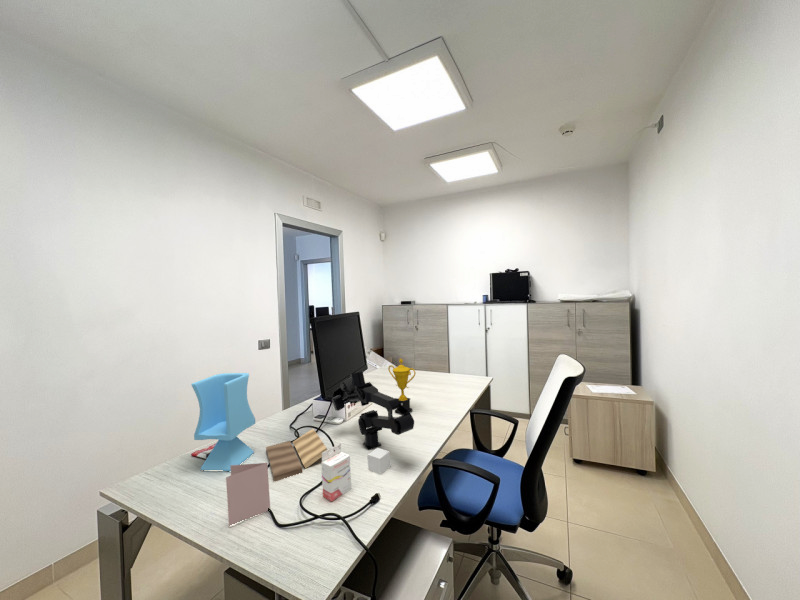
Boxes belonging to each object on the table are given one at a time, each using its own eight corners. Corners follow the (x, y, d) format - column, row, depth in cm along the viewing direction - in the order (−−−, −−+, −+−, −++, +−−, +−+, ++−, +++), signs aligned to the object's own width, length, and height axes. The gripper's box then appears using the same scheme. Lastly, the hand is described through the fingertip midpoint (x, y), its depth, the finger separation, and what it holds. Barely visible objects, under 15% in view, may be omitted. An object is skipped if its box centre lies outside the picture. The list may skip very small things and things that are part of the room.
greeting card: (271, 508, 97) (268, 461, 97) (261, 525, 90) (258, 475, 90) (234, 510, 97) (231, 463, 97) (222, 528, 89) (218, 477, 89)
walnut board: (302, 472, 116) (302, 467, 116) (274, 482, 111) (273, 476, 111) (290, 445, 139) (289, 440, 139) (266, 451, 134) (266, 447, 134)
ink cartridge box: (332, 502, 98) (329, 457, 98) (322, 496, 101) (320, 452, 101) (352, 488, 105) (349, 446, 105) (342, 483, 108) (340, 442, 108)
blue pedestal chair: (196, 472, 120) (190, 383, 119) (224, 451, 135) (219, 373, 135) (232, 473, 118) (227, 383, 117) (257, 452, 133) (252, 372, 133)
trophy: (384, 411, 172) (382, 358, 172) (396, 406, 180) (393, 355, 179) (412, 418, 160) (409, 361, 160) (422, 412, 168) (420, 358, 167)
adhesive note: (368, 470, 116) (367, 454, 115) (378, 462, 120) (377, 447, 120) (380, 475, 112) (379, 458, 112) (390, 466, 117) (389, 451, 117)
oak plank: (328, 451, 123) (326, 447, 123) (305, 468, 118) (303, 464, 118) (314, 431, 142) (313, 428, 142) (294, 445, 138) (292, 441, 137)
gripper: (368, 371, 149) (353, 375, 161) (334, 386, 137) (321, 389, 149) (376, 393, 148) (361, 395, 160) (343, 410, 136) (329, 411, 148)
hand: (344, 397), depth 154 cm, fingers open, 9 cm apart
